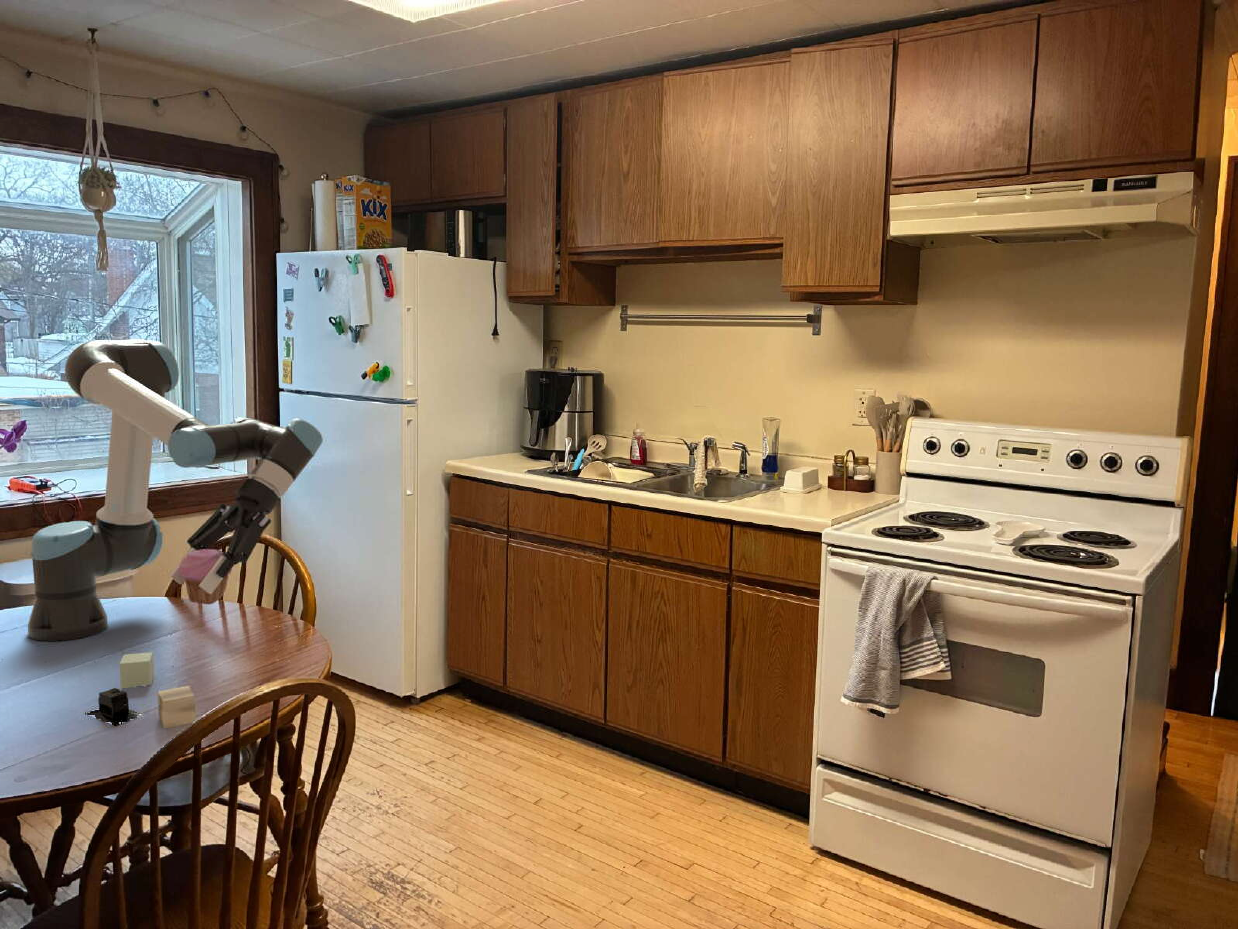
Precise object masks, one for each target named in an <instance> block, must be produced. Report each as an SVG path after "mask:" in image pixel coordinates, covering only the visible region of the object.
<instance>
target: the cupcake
mask: <svg viewBox="0 0 1238 929" xmlns="http://www.w3.org/2000/svg"><path fill="white" fill-rule="evenodd" d="M223 553H225V552H223V551H222V550H220V549H215V548H211V549H209V548H208V549H203V550H197V551H193V552H190V553H189V554H188V555H187V556H186V557H185V558H184V557H183V558H184V559H183V558H182V559H183V560H182V559H181V560H182V561H181V560H180V562H181V563H180V562H179V563H180V565H179V573H180V575H181V577H183V578H185V581H184V582H185V586H186V592H187V596H188V599H189V601H190V603H191V602H192V603H197V604H203V605H212V604H214V603H216V602H217V601H219V600H221V598H222V596H223V595H224V593H225V592H226V589H227V585H228V580H229V579H228V578H229V575H231V573H232V569H233V567H232V568H231V570H230V571H229V573H228V574H227V575H226V576H225V577H224V578H223V579H222V581H221V582H220V583H219V585H218V586H217V587H216V589H215V590H214V591H213V593H212V594H209V593H207V592H206V591H205V590H203V589H202V588H201V587H199V585H200V583H201V582H202V581H203V579H204V578H205V577H206V575H207V574H208V573H209V571H210V570H211V569H212V568H213V566H214V565H215V564H216V562H217V561H218V560H219V558H220V557H221V556H222V557H224V558H226V557H225V556H224V555H223Z"/></svg>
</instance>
